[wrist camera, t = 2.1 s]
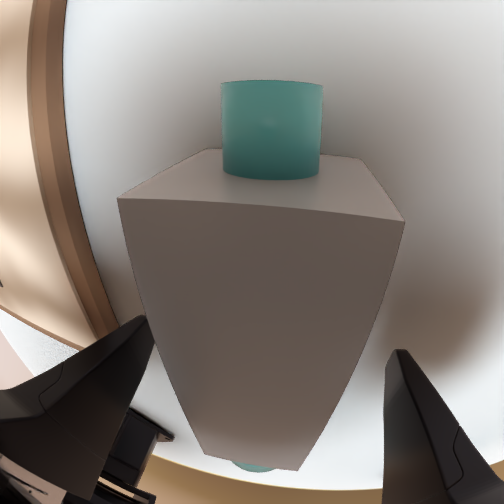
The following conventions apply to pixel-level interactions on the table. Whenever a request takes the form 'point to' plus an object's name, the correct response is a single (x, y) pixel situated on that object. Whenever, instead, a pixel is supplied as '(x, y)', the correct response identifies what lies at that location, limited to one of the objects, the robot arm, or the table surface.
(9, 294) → the brown framed board
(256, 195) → the marker
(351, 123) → the table surface
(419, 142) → the table surface
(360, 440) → the table surface
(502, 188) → the table surface
